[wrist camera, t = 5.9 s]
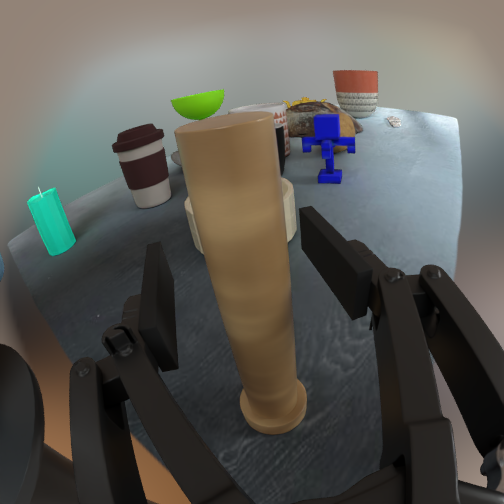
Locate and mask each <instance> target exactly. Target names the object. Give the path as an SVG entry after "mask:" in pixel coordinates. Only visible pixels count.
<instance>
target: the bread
mask: <svg viewBox="0 0 504 504" xmlns="http://www.w3.org/2000/svg"><path fill="white" fill-rule="evenodd" d="M336 113H344V114H346V115H348V116H349V117H350V118H351V120H352V122H353V125H354V129H355V134H357V133H356V132H359V131H360V132H362V131H363V129H362V125H361V124H360V123H359V122H357V120H356V119H355V118H353V117H352V116H351V115H350V114H348V113H347V112H345V111H344V110H342V109H340V108H339V107H337V106H335V105H333V104H330V103H327V102H306V103H300V104H296V105H294V106H291V107H290V108H288V109H286V116H287V124H288V133H289V137H315V128H314V116H315V115H316V114H336ZM299 134H305V135H299ZM296 135H297V136H296Z"/></svg>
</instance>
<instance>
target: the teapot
mask: <svg viewBox="0 0 504 504" xmlns="http://www.w3.org/2000/svg"><path fill="white" fill-rule="evenodd" d="M325 100H326V99H323V100H321V102H324V101H325ZM283 102H285V103H286V104H287V107H288V108H290V107H291V106H290V104H289V102H288V101H283ZM306 102H317V101H316V100H309V98H307V97H303V98H302V100H299V101H294V102H293V103H292V106H294V105H296V104H300V103H306Z"/></svg>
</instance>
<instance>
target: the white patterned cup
mask: <svg viewBox="0 0 504 504" xmlns="http://www.w3.org/2000/svg"><path fill="white" fill-rule="evenodd" d="M256 111H263V112H271V113H273V115H274V122H275V123H281V124H283V126H284V135H285V157H286V156H287V155H289V154H290V143H289V133H288V124H287V116H286V109H285V104H284V103H265V104H256V105H250V106H243V107H238V108H235V109H231V110H229V111H228V114H234V113H242V112H256Z"/></svg>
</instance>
